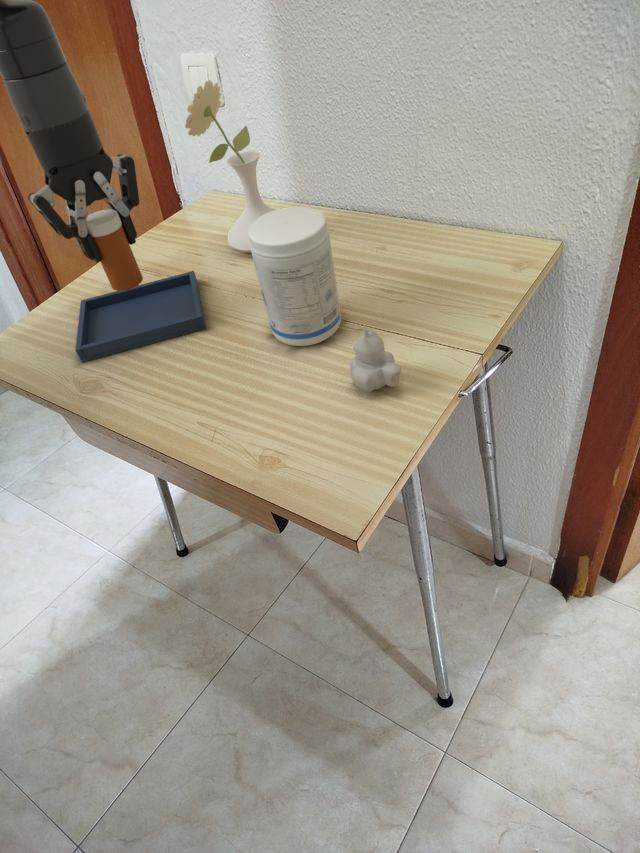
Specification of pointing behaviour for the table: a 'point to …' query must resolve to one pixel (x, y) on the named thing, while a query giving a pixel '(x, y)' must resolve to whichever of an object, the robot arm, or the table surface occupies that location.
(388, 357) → the grey figurine
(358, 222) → the table surface
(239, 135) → the flower in vase
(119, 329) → the tray
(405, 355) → the table surface
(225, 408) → the table surface
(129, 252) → the pill bottle
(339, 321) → the supplement tub
